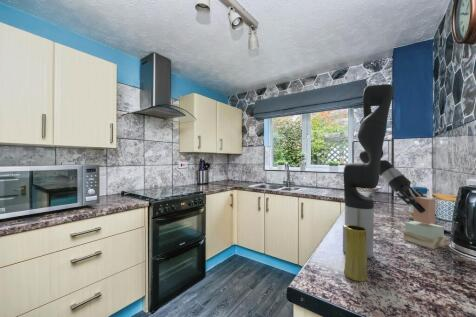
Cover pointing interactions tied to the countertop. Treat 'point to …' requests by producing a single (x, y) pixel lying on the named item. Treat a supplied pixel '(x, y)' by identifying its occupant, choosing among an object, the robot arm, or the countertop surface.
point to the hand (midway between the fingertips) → (426, 211)
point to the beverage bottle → (411, 208)
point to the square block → (429, 212)
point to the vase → (356, 253)
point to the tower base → (425, 240)
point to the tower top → (424, 229)
